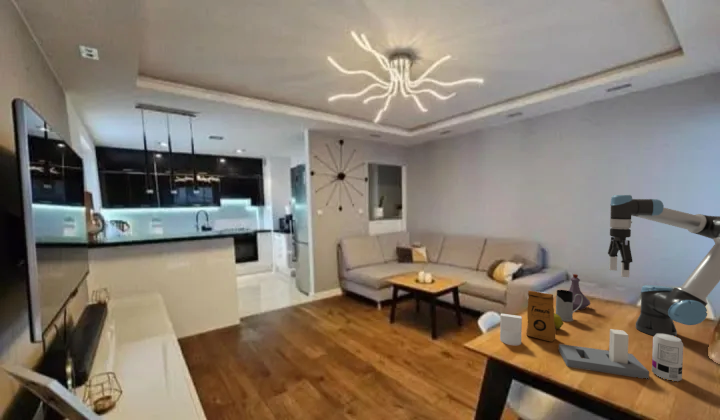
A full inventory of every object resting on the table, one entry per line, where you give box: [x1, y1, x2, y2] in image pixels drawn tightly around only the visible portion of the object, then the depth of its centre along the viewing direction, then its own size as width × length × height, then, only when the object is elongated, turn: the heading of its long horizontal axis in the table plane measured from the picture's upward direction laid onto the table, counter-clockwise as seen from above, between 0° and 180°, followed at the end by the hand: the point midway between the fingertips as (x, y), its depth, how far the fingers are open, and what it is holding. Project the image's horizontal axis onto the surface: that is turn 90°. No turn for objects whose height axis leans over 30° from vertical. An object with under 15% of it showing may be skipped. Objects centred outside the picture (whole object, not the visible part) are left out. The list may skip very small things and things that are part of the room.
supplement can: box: [651, 333, 684, 382], centre depth 119 cm, size 8×8×15 cm
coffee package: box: [525, 290, 557, 343], centre depth 152 cm, size 10×12×22 cm
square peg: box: [608, 328, 629, 364], centre depth 126 cm, size 4×4×14 cm
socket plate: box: [558, 343, 650, 380], centre depth 129 cm, size 26×14×3 cm, turn 70°
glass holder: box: [555, 289, 583, 322], centre depth 176 cm, size 9×14×15 cm, turn 88°
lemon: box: [554, 312, 564, 330], centre depth 163 cm, size 11×8×8 cm
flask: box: [567, 273, 591, 311], centre depth 193 cm, size 16×16×20 cm
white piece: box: [499, 313, 523, 346], centre depth 149 cm, size 9×9×12 cm
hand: (618, 273), depth 148 cm, fingers open, 13 cm apart
